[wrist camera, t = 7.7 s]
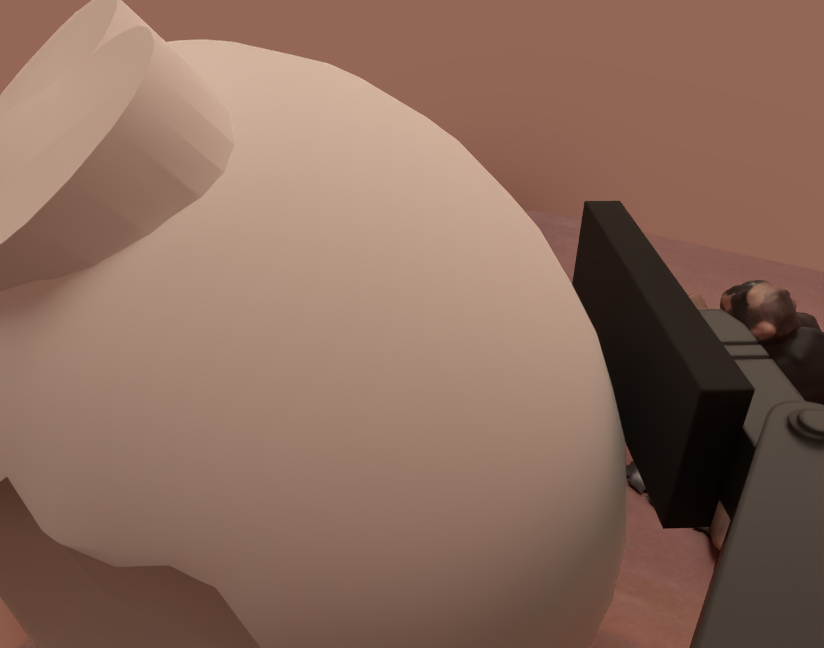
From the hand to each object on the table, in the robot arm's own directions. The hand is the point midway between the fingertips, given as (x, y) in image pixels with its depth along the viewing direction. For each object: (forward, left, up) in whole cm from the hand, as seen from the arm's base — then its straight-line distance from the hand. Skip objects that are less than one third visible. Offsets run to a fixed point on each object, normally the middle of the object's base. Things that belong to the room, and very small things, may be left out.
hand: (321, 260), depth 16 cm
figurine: (-3, -2, -9) cm, 10 cm away
